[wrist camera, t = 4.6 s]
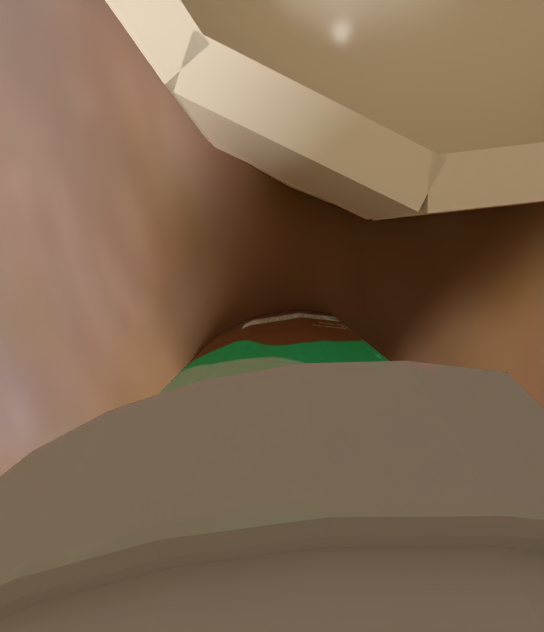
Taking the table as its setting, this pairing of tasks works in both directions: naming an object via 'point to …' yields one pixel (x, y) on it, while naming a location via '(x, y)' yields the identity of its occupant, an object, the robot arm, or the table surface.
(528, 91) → the bowl
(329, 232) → the table surface
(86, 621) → the food container
